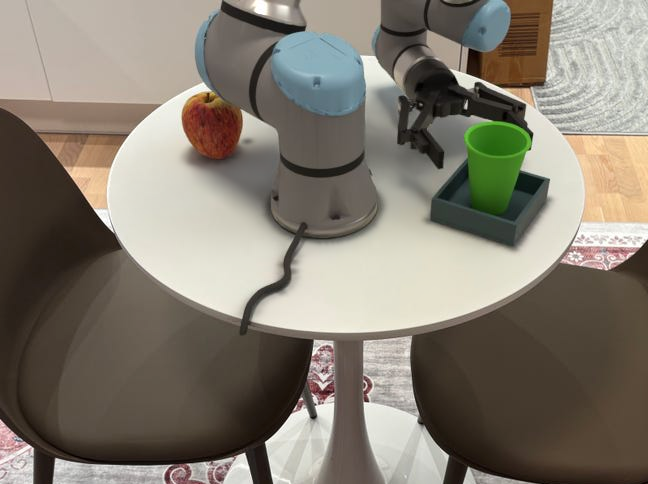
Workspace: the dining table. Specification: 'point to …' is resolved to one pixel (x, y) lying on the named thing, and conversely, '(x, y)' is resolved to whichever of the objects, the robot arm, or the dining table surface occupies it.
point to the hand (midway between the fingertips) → (486, 151)
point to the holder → (506, 228)
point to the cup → (494, 163)
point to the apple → (212, 125)
